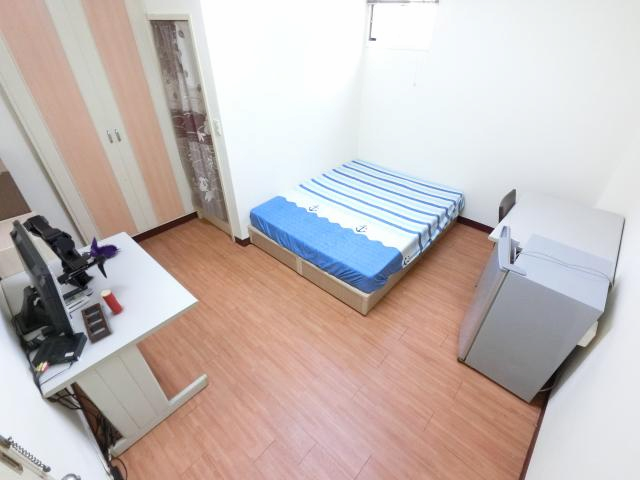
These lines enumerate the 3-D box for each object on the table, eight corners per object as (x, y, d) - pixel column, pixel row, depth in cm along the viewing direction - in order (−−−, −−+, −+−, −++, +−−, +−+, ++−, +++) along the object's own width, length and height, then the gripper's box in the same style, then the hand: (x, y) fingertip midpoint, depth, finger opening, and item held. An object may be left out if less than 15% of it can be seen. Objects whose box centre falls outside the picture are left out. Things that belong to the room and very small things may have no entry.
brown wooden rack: (83, 314, 132) (80, 310, 130) (101, 306, 136) (99, 302, 134) (92, 343, 121) (89, 339, 119) (111, 333, 125) (108, 329, 123)
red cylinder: (111, 313, 133) (98, 295, 125) (116, 306, 136) (104, 289, 128) (118, 314, 132) (106, 296, 125) (124, 307, 135) (112, 290, 128)
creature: (85, 257, 162) (74, 240, 155) (122, 246, 170) (113, 229, 162) (85, 266, 157) (74, 249, 149) (123, 255, 164) (114, 238, 157)
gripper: (44, 264, 115) (72, 294, 117) (94, 240, 127) (118, 267, 129) (47, 270, 123) (73, 298, 125) (94, 247, 135) (116, 273, 138)
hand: (96, 284), depth 129 cm, fingers open, 9 cm apart
